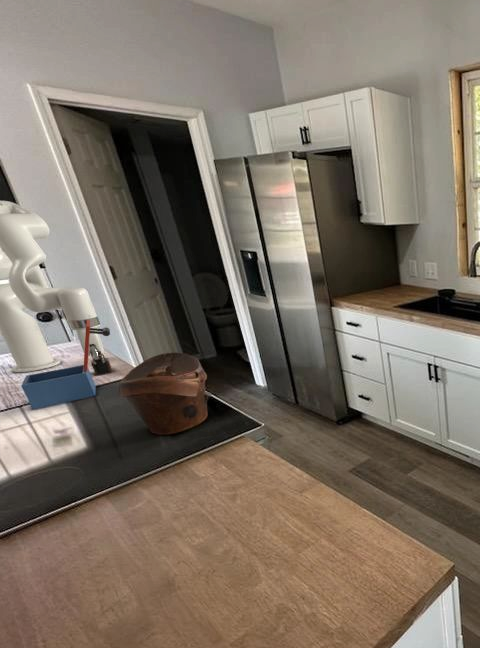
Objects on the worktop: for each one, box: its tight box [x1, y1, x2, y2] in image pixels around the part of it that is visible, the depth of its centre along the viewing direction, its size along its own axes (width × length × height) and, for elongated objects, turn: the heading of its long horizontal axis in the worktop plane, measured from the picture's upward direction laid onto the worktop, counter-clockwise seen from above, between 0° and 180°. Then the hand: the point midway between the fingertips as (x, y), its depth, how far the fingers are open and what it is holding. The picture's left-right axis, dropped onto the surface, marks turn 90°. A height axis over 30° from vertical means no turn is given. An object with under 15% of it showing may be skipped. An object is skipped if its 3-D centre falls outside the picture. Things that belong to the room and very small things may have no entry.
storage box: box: [20, 364, 97, 410], centre depth 129 cm, size 14×12×8 cm
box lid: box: [83, 320, 111, 372], centre depth 132 cm, size 14×12×5 cm
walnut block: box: [90, 357, 113, 376], centre depth 150 cm, size 4×4×4 cm
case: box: [118, 352, 213, 436], centre depth 108 cm, size 18×20×18 cm
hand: (103, 371), depth 151 cm, fingers closed on walnut block, 4 cm apart
